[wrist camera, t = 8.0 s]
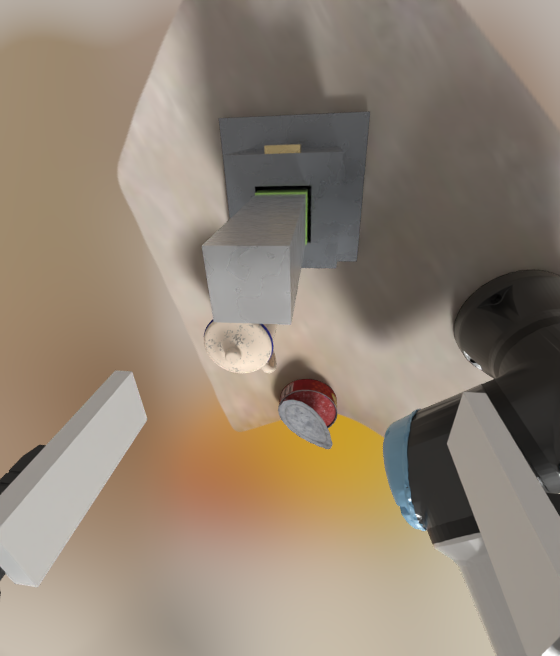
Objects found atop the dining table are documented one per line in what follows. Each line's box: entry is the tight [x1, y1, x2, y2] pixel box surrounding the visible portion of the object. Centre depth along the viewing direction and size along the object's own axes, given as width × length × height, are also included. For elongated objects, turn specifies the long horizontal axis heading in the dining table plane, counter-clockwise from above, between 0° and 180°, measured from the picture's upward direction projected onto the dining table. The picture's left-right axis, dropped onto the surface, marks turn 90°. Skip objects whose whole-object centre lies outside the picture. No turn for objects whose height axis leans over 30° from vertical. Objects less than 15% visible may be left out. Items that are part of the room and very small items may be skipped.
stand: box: [219, 112, 370, 268], centre depth 35 cm, size 16×16×12 cm
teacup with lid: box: [204, 320, 278, 373], centre depth 45 cm, size 12×9×12 cm
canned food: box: [278, 379, 337, 449], centre depth 55 cm, size 11×10×10 cm
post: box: [202, 185, 309, 325], centre depth 25 cm, size 4×4×20 cm
